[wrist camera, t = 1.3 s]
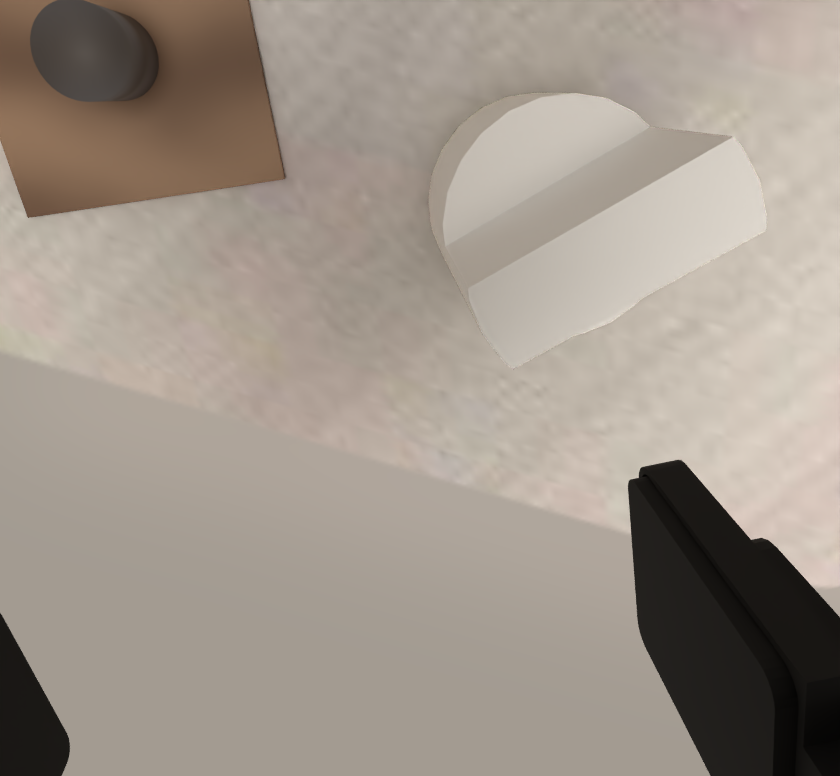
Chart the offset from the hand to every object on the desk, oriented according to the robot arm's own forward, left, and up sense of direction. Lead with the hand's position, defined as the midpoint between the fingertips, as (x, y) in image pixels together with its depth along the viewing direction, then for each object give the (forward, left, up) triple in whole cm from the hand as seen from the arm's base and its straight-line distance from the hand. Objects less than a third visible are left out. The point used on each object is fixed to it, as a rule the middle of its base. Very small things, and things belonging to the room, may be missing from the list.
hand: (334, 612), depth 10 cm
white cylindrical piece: (-1, +8, -24) cm, 25 cm away
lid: (-9, -8, -24) cm, 27 cm away
